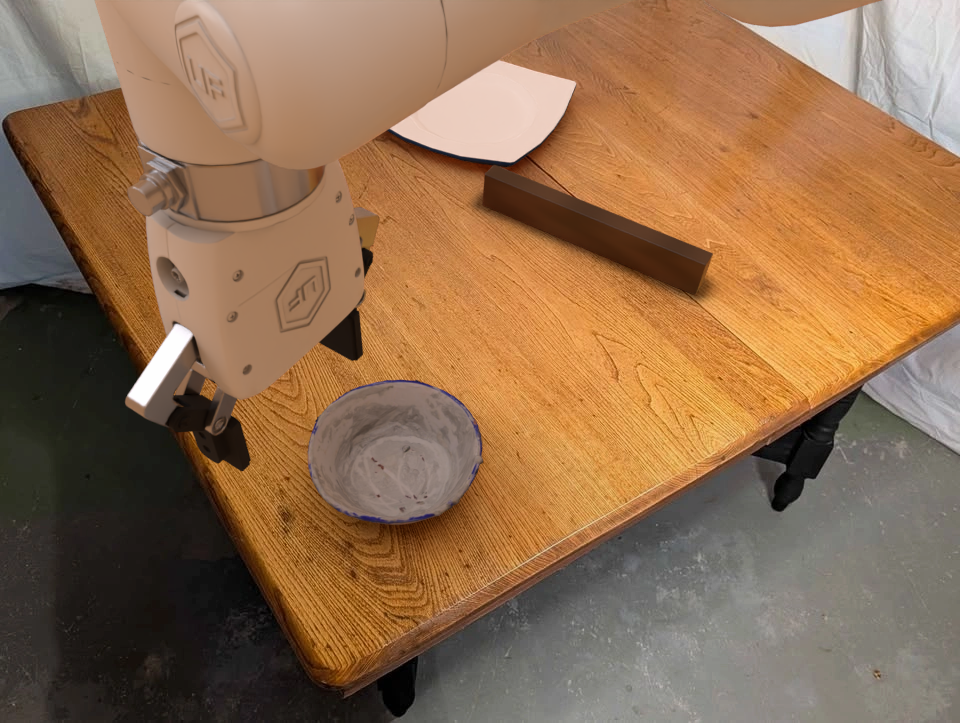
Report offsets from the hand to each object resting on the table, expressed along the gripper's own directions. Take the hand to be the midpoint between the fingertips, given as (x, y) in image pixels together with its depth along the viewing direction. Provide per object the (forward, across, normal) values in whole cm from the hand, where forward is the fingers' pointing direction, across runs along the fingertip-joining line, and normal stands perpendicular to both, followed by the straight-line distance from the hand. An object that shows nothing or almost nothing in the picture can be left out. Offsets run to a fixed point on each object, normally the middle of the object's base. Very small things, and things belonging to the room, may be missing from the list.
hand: (286, 399), depth 49 cm
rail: (+17, +42, 0) cm, 45 cm away
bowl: (+17, +8, -1) cm, 19 cm away
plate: (+17, +53, +22) cm, 60 cm away
